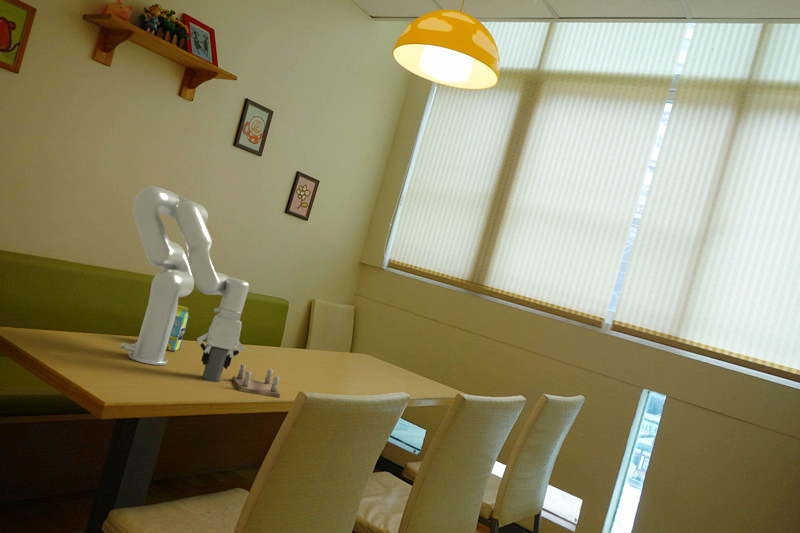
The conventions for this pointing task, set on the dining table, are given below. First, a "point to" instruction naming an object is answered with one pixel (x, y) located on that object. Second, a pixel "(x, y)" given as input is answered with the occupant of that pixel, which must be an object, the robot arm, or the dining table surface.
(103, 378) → the dining table surface
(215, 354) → the bottle
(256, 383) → the pegboard
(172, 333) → the carton
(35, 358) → the dining table surface
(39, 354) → the dining table surface
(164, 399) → the dining table surface
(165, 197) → the robot arm
